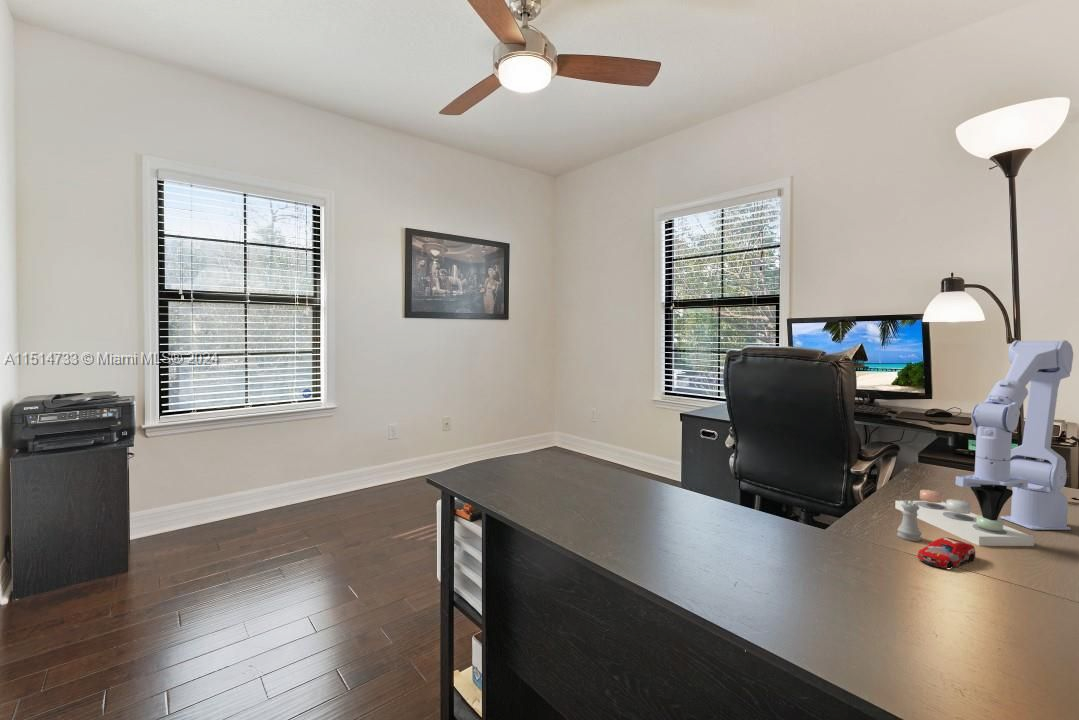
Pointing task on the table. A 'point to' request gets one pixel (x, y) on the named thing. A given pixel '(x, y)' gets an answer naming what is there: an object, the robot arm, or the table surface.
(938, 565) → the race car
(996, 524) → the sage button
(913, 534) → the rook chess piece
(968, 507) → the grey button
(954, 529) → the button panel
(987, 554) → the table surface
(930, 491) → the terracotta button
